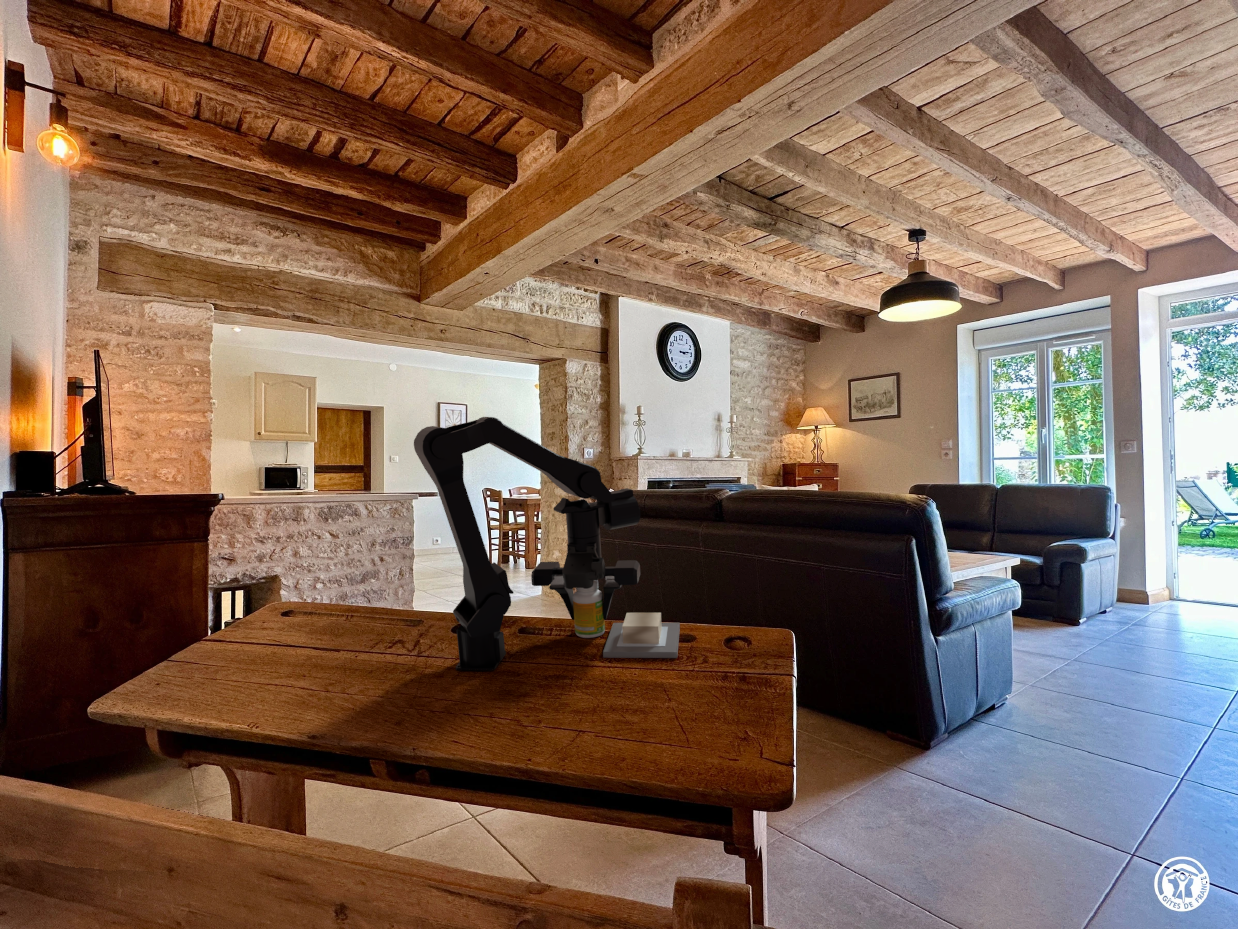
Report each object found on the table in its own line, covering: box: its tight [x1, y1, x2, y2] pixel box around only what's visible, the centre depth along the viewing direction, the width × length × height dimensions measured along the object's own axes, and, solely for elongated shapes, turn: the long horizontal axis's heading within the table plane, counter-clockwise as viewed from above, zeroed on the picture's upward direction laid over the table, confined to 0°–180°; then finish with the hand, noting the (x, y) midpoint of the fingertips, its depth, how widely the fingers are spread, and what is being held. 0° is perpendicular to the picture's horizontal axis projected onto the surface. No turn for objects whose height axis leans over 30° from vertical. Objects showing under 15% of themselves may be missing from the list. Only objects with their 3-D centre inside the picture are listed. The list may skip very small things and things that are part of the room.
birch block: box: [622, 612, 662, 644], centre depth 106 cm, size 6×6×3 cm
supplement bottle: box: [573, 579, 606, 639], centre depth 112 cm, size 5×5×10 cm
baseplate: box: [602, 622, 681, 659], centre depth 107 cm, size 12×12×1 cm
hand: (589, 619), depth 112 cm, fingers closed on supplement bottle, 5 cm apart
